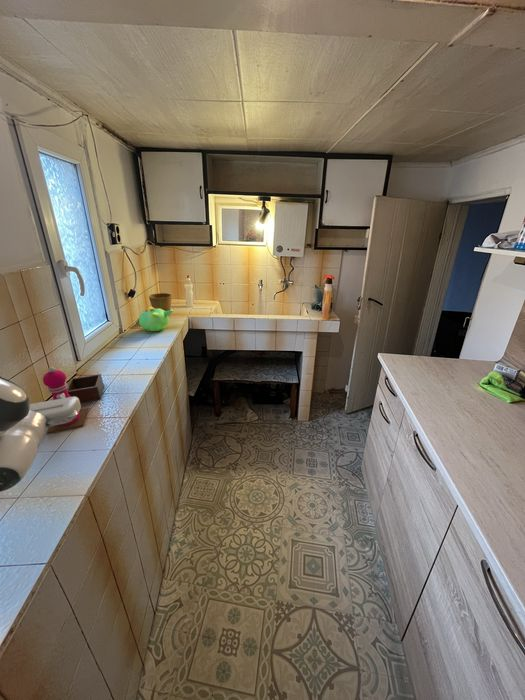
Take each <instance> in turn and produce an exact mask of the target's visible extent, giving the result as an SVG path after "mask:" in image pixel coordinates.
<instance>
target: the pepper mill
mask: <svg viewBox="0 0 525 700" xmlns="http://www.w3.org/2000/svg"><path fill="white" fill-rule="evenodd" d="M66 381H67V375H66V373H65V372H63V371H62V370H61V369H56V368H55V367H54V366H50V367H48V368H47V372H46V373H45V374H44V375H43V377H42V383H43V385H45V387H47V390H48V392H49V393H51V395H52V400H56V399H57V395H58V394H61V393H64V394H65V397H66V398H68V397H71V396H70V395H69V394H68V392H67V385H68V383H67V382H66ZM79 417H80V415H79V412H78V414H77V417H76V418H75V419H73V420H72V421H70V422H68V423H64V424H60V425H68V424H71V423H74V422H75V421H77V420H78V419H79Z"/></svg>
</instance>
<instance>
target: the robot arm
mask: <svg viewBox="0 0 525 700" xmlns="http://www.w3.org/2000/svg"><path fill="white" fill-rule="evenodd" d="M80 409H82V405H81V403H80V401H79V398H77V397H75V396H74V397H68V398H66V397H65V394H64V393H61V394H58V395H57V399H56V400H53V399H52V400H51V399H50V400H46V401H39V402H34V403H31V402H30V397H29V396H28V392H27V391H26V390H25V389H24V388H23V387H21V386H20V385H18V384H17V383H15V382H13V381H11V380H9V379H7V378H5V377H3V376H1V375H0V493H1V492H4V491H7V490H9V489H11V488H13V487H15V486H16V485H18V484H19V483H20V482H21V481H22V480H23V479H24V478H25V477H26V476H27V474H28V472H29V471H30V469H31V467H32V466H33V463H34V461H35V460H36V457H37V455H38V452H39V448H40V447H41V446H42V444H43V442H44V440H45V438H46V436H47V431H48V429H49V427H50V426H54V425H59V424H64V423H68V422H70V421H72V420H73V419H75V418H76V417H77V414H78V412H79V411H80Z"/></svg>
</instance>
